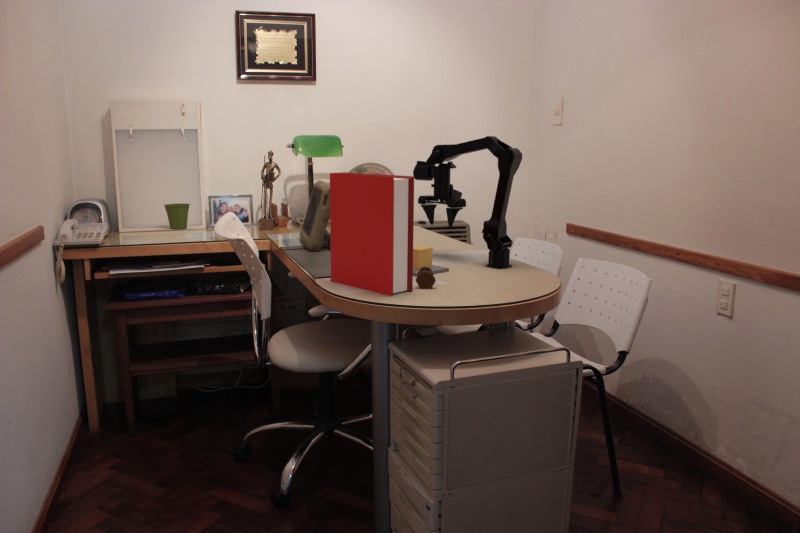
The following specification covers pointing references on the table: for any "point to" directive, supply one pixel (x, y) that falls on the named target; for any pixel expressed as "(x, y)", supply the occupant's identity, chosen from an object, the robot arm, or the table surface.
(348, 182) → the book
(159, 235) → the table surface
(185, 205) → the plant pot
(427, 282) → the bolt
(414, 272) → the junction plate
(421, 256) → the wooden toy cube
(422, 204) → the robot arm
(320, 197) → the rugged handheld device
